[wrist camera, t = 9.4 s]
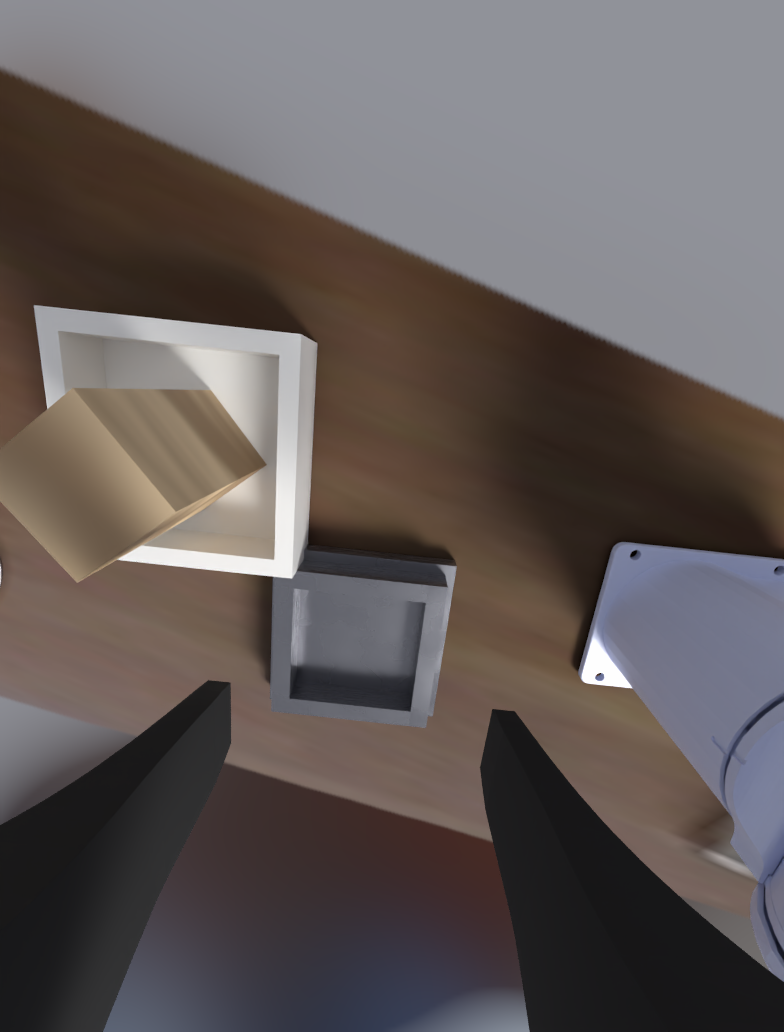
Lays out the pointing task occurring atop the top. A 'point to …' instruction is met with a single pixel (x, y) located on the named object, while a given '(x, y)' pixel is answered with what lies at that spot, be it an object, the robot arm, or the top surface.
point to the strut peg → (120, 470)
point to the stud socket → (360, 635)
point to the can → (1, 572)
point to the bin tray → (246, 397)
